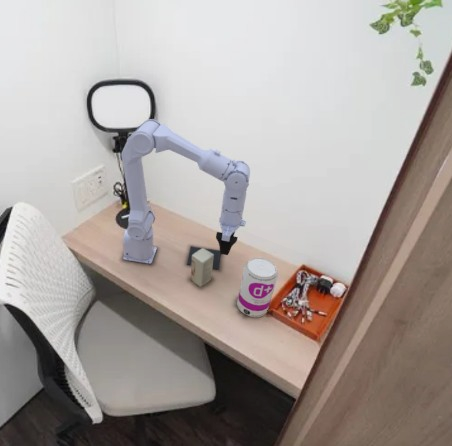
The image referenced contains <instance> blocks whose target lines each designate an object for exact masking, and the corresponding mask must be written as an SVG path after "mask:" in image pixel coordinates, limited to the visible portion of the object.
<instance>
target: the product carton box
mask: <svg viewBox="0 0 452 446" xmlns="http://www.w3.org/2000/svg"><path fill="white" fill-rule="evenodd" d="M201 248H202V249H200V250H198V251H197V252H195V253H194V254H193V255H192V262H191V265H190V281H191V282H193V283H194V284H195V285H197V286H198V287H199V288H202V287H203V286H204V285H206V284H207V283H209V282H210V281H211V280H212V275H213V269H212V268H213V258H214V254H212V253H211V252H209V251H208V250H206V249H207V248H206V249H204V248H205V247H201Z"/></svg>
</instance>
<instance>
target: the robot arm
mask: <svg viewBox="0 0 452 446" xmlns="http://www.w3.org/2000/svg"><path fill="white" fill-rule="evenodd" d="M154 149H155V153H156V154H159V153H161V152H166V151H171V152H174V153H176V154H178V155H180V156H181V157H184V158H187V159H188V160H191V161H193V162H194V163H196V164H197V166H198V169H199V170H200V171H202V172H204V173H206V174H208V175H209V176H211V177H213V178H214V179H217V180H219V181H220V182H223V185H224V187H225V188H224V190H223V195H222V203H221V210H220V216H219V220H218V222H219V223H218V224H219V226H220V229H221V231H217V232H216V233H215V240H216V241H217V243H218V246H219V251H220V253H221V255H224V256H229V254H230V252H231V250H232V247H233V246H234V245H235V244H236V243H237V241H238V236H236V235H235V233H236V231H237V230H238V229H240V227H246V222H247V221H246V220H244V219H243V214H244V208H245V204H246V199H247V191H248V188H249V185H250V183H249V182H250V176H251V168H250V166H249V165H248V164H247V163H246V162H244V161H243V160H236V159H233V160H232V159H231V158H228V157H227V156H225V155H223V154H221V151H220V150H219V149H212V148H208V149H203V148H201V147H199V146H197V145H196V144H195V143H193V142H191V141H190V140H188V139H186V138H184V137H183V136H181V135H179V134H178V133H176V132H175V131H174V130H172V129H171V128H170V127H169V126H168V125H166V124H165V123H160V122H159V121H158V120H156V119H154V118H152V119H151V118H150V119H146V120H144V121H143V123H140V125H139V126H138V127H137V128H136V129H135V131H133V133H132V134H131V135H130V136H129V137H128V138H126V142H125V144H124V147H123V149H122V151H121V154H120V155H121V161H122V168H123V173H124V178H125V185H126V191H127V197H128V202H129V209H130V211H129V215H128V220H127V223H128V225H127V228H126V230H125V231H124V234H123V237H122V249H123V260H124V261H129V262H136V263H142V264H148V265H151V264H153V261H154V258H155V255H156V252H157V250H158V249H157V247H156V246H154V230H153V224H154V223H155V221H156V215H155V213H154V212H153V210H152V205H150V204H148V197H147V190H146V183H145V174H144V167H143V166H144V165H143V159H142V158H143V157H145V156H147V155H150V154H151V153H152V152H153V151H154Z"/></svg>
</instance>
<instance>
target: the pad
mask: <svg viewBox="0 0 452 446" xmlns="http://www.w3.org/2000/svg"><path fill="white" fill-rule="evenodd" d="M202 248H204V249H206V250H208V251H209V252H211V253H212V254H214V258H213V268H212V270H215V271H217V270H220V263H221V256H222V254H221V253H220V249H219V250H218V249H211V248H205V247H198V246H190V249H189V253H188V257H187V262H186V266H191V262H192V255H193V254H194V253H195V252H197V251H198V250H200V249H202Z"/></svg>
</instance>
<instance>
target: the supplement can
mask: <svg viewBox="0 0 452 446" xmlns="http://www.w3.org/2000/svg"><path fill="white" fill-rule="evenodd" d="M278 276H279V273H278V270H277V266H276V264H275V263H273V262H272V261H271V260H269V259H268V258H264V257H253V258H251V259H249V260H248V262H246V264H245V265H244V266H243V272H242V276H241V280H240V287H239V291H238V295H237V301H236V305H237V308H238V309H239V311H240V312H241V313H243V314H244V315H246V316H248V317H251V318H252V317H253V318H260V317H263V316H265V315H266V314H267V313H268V311H269V308H270V305H271V300H272V297H273V294H274V291H275V287H276V284H277V280H278ZM267 310H268V311H267Z"/></svg>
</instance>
